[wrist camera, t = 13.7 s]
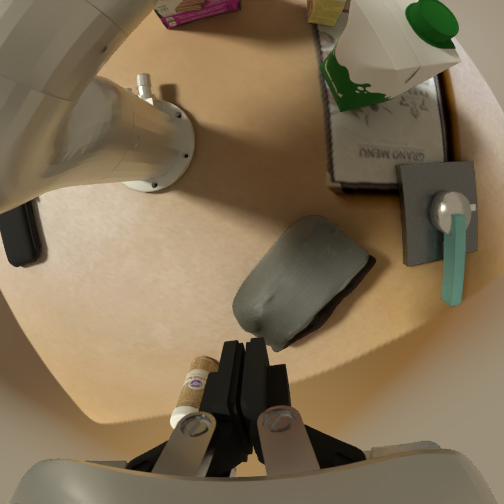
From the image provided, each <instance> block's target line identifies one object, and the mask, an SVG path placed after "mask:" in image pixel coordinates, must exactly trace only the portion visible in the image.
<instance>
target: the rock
mask: <svg viewBox="0 0 504 504" xmlns="http://www.w3.org/2000/svg"><path fill="white" fill-rule="evenodd" d="M340 229H341V228H340V226H338V225H336V224H333V223H331V222H329V220H327V219H326V218H324V217H321V216H312V215H310V216H307V217H304V218H302V219H300V220H299V221H297V222H296V223H294V224H293V225H292V226H291V227H290V228H289V229H288V230H287V231H286V232H285V233H284V234H283V235H282V236H281V237H280V238H279V239H278V240H277V242H276V243H275V244H274V245H273V246H272V248H271V249H270V250H269V251H268V253H267V254H266V255H265V256H264V258H263V259H262V260H261V261H260V262H259V264H258V265H257V266H256V267H255V268H254V270H253V271H252V272H251V273H250V275H249V276H248V277H247V278H246V280H245V281H244V282H243V284H242V285H241V287H240V289H239V290H238V292H237V294H236V296H235V298H234V300H233V306H232V307H233V312H234V315H235V317H236V319H237V321H238V323H239V324H240V326H241V327H242V329H244V330H245V331H246V332H249V333H252V334H253V335H255V336H256V337H257V338H258V337H264V339H265V344H266V345H268V346H271V348H272V350H273V351H274V352H279V351H281V350H283V349H285V348H287V347H288V346H290V345H291V344H292V343H294V342H295V341H297V340H299V339H301V338H303V337H304V336H306V335H308V334H309V333H311V332H313V331H315V330H317V329H319V328H320V327H321V326H322V325H323V324H324V323H325V322H326V321H327V320H328V318H329V317H330V316H331V314H332V313H333V311H334V309H335V308H336V307H337V305H338V304H339V303H340V302H341V301H342V300H343V299H344V298H345V297H346V296H347V295H349V294H350V293H351V292H352V291H353V290H354V289H355V288H356V287H357V285H358V284H359V283H360V282H361V281H362V279H363V278H364V277H365V275H366V274H367V273H368V272H369V271H370V270H371V268H372V267H373V266H374V264H375V263H376V259H375V258H374V257H373V256H371V255H369V254H368V252H367V251H366V250H364V249H363V248H361V247H359V246H358V245H357V244H356V242H355V240H354V239H353V238H352V237H350V236H349V235H347V234H345V233H343V232H342V231H340Z"/></svg>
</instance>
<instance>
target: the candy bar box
mask: <svg viewBox="0 0 504 504" xmlns="http://www.w3.org/2000/svg"><path fill="white" fill-rule="evenodd" d="M153 9H154V11H155V12H156V14H157V15H158V17H159V18H160V19H161V21H162V22H163V24H164V25H165V27H166V28H167V29H170V28H173V27H176V26H178V25H182V24H185V23H188V22H191V21H195V20H198V19H202V18H206V17H210V16H213V15H218V14H222V13H226V12H231V11H236V10H241V4H240V0H158V2H157V4H156V5H155V7H154V8H153Z"/></svg>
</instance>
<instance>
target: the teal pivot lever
mask: <svg viewBox="0 0 504 504" xmlns="http://www.w3.org/2000/svg"><path fill="white" fill-rule="evenodd" d="M430 217H431V221H432V224H433V225H434V227H435V228H436V229H437V230H438V231H440V232H443V233H444V263H443V282H442V295H441V299H442V300H443V301H445V302H446V303H447V304H448V305H450V306H451V307H452V306H455V305H458V304H461V300H462V291H463V281H464V268H465V249H466V229H467V228H468V226H469V223H470V220H471V207H470V203H469V201H468V199H467V198H466V197H465V196H464V195H463V194H462V193H459V192H453V191H441V192H439V193H438V194H437V195H436V196H435V197H434V199H433V201H432V203H431V207H430Z"/></svg>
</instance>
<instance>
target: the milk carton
mask: <svg viewBox="0 0 504 504" xmlns="http://www.w3.org/2000/svg"><path fill="white" fill-rule="evenodd" d="M458 31H459V26H458V22H457V20H456V18H455V16H454V15H453V13H452V12H451V11H450V10H449V9H448V8H447V7H446V6H445V5H444V4H443V3H441V2H439V1H438V0H351V3H350V9H349V15H348V21H347V26H346V27H345V29H344V31H343V33H342V34H341V36H340V38H339V40H338V41H337V43H336V45H335V47H334V48H333V50H332V52H331V53H330V54H329V55H328V57H327V58H326V59H325V60H324V62H323V63H322V64H321V65H320V69H321V71H322V73H323V75H324V77H325V79H326V81H327V84H328V86H329V88H330V90H331V92H332V94H333V96H334V98H335V101H336V103H337V105H338V107H339V109H340V112H342V111H346V110H350V109H355V108H360V107H364V106H369V105H373V104H377V103H381V102H384V101H388V100H391V99H393V98H395V97H396V96H398V95H400V94H402V93H404V92H406V91H407V90H409V89H411V88H413V87H415V86H417V85H418V84H420V83H422V82H424V81H426V80H428V79H429V78H431V77H433V76H435V75H437V74H438V73H440V72H442V71H444V70H446V69H448V68H450V67H452V66H454V65H456V64H458V63H460V62H461V60H460V57H459V56H458V54H457V52H456V50H455V46H454V44H453V42H452V41H451V38H452V37H454V36H455V35H456V34H457V33H458Z"/></svg>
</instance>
